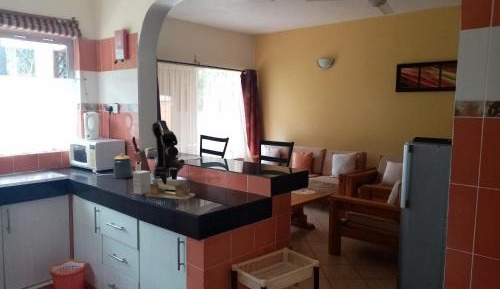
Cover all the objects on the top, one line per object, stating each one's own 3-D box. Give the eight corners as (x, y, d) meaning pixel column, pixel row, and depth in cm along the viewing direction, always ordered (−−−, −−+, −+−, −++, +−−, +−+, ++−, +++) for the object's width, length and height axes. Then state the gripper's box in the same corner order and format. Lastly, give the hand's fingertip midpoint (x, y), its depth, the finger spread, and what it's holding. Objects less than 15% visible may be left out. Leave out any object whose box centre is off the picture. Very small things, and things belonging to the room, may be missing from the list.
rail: (156, 187, 213) (156, 178, 213) (187, 189, 206) (187, 180, 206) (153, 188, 210) (152, 179, 209) (184, 190, 203) (183, 181, 202)
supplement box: (144, 191, 222) (143, 170, 221) (151, 192, 218) (150, 171, 216) (133, 193, 217) (132, 171, 215) (140, 194, 212) (139, 173, 211)
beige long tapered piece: (155, 192, 217) (155, 180, 217) (195, 195, 209) (194, 183, 208) (145, 196, 208) (144, 184, 207) (186, 199, 199) (185, 186, 199)
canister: (128, 178, 264) (127, 154, 262) (110, 178, 264) (109, 154, 262) (134, 175, 277) (133, 151, 275) (117, 175, 277) (116, 152, 275)
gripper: (172, 157, 195) (173, 187, 196) (190, 153, 212) (190, 180, 214) (154, 157, 198) (155, 186, 200) (173, 153, 216) (174, 179, 217)
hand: (169, 183), depth 208 cm, fingers open, 9 cm apart
